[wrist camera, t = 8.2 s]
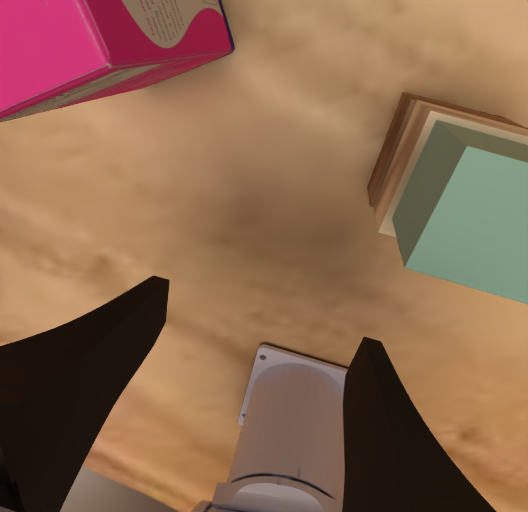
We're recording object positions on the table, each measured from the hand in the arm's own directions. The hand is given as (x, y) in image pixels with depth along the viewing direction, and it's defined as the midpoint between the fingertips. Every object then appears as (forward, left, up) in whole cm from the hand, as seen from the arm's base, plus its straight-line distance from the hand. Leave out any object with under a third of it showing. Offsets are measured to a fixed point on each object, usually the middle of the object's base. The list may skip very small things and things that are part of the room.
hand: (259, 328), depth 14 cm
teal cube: (+6, -6, -5) cm, 9 cm away
